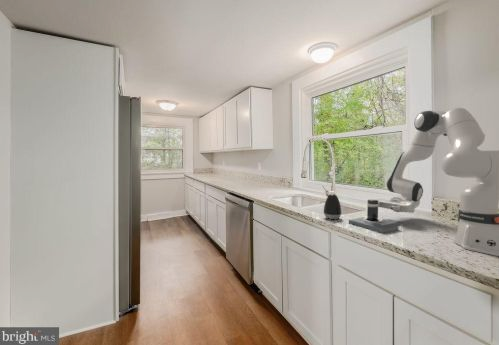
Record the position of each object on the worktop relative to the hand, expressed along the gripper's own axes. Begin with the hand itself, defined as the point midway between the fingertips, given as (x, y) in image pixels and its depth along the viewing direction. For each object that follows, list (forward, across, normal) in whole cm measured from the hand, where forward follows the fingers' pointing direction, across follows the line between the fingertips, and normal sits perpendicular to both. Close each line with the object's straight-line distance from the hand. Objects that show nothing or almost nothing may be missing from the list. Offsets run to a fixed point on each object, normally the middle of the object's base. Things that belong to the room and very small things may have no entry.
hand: (383, 206), depth 128 cm
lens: (+9, 0, +8) cm, 12 cm away
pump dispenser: (+15, -22, +10) cm, 29 cm away
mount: (+10, 0, +10) cm, 14 cm away
